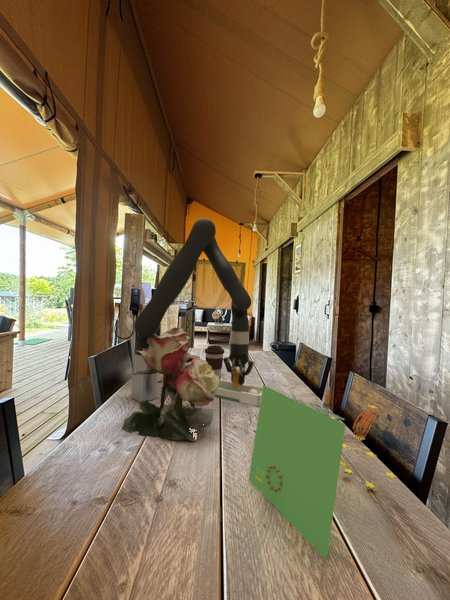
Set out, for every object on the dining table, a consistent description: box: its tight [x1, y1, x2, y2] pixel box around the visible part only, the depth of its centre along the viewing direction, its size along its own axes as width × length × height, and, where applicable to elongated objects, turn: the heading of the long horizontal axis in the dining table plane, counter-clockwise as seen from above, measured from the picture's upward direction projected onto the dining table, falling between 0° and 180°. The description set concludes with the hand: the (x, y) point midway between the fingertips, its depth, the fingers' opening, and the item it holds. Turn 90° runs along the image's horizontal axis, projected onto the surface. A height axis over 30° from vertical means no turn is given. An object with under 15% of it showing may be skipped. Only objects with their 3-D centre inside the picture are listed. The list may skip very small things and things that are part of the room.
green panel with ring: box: [248, 384, 398, 561], centre depth 61 cm, size 22×25×24 cm
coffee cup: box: [204, 345, 225, 378], centre depth 143 cm, size 10×10×15 cm
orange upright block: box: [232, 368, 243, 392], centre depth 116 cm, size 6×2×9 cm, turn 153°
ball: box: [248, 389, 258, 395], centre depth 113 cm, size 4×4×4 cm
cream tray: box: [214, 379, 263, 408], centre depth 116 cm, size 11×24×4 cm, turn 63°
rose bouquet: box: [121, 327, 221, 442], centre depth 92 cm, size 26×29×30 cm
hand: (237, 383), depth 116 cm, fingers open, 3 cm apart
